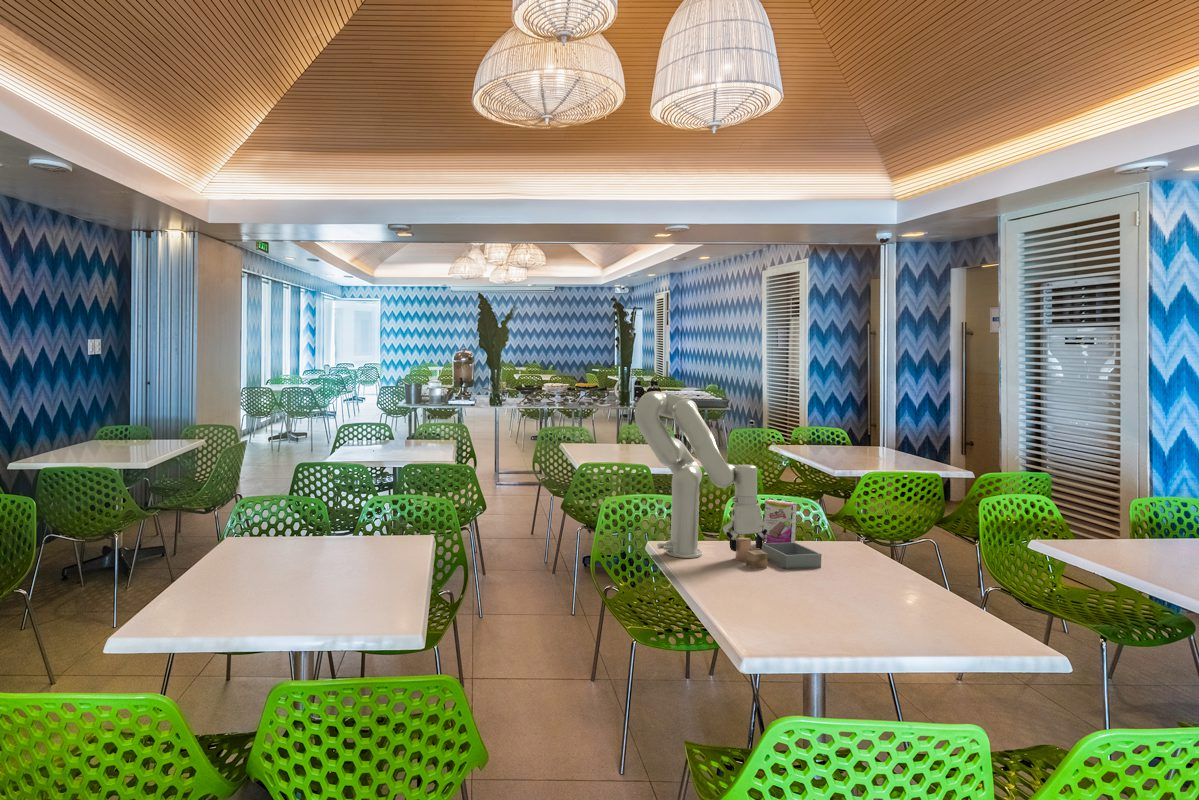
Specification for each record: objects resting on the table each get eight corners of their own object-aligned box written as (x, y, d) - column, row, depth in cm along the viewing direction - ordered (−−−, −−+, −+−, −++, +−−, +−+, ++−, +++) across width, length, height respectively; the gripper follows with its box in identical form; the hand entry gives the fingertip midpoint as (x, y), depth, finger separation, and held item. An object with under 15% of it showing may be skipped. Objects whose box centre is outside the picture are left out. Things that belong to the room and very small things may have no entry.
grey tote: (785, 569, 251) (786, 555, 251) (761, 556, 267) (761, 543, 267) (820, 567, 254) (821, 554, 254) (794, 554, 271) (794, 542, 271)
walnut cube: (753, 569, 250) (753, 554, 250) (746, 565, 255) (746, 550, 254) (766, 568, 251) (767, 553, 251) (759, 564, 256) (760, 550, 256)
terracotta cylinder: (739, 561, 259) (740, 541, 259) (733, 557, 264) (733, 537, 264) (752, 560, 261) (753, 540, 260) (746, 557, 266) (746, 537, 265)
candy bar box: (762, 543, 287) (763, 500, 286) (766, 541, 291) (768, 499, 291) (791, 548, 281) (792, 504, 280) (795, 545, 285) (797, 502, 285)
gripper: (727, 503, 256) (728, 553, 256) (773, 500, 260) (773, 550, 261) (718, 500, 263) (718, 549, 263) (763, 497, 267) (763, 545, 268)
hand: (746, 549), depth 262 cm, fingers open, 9 cm apart
